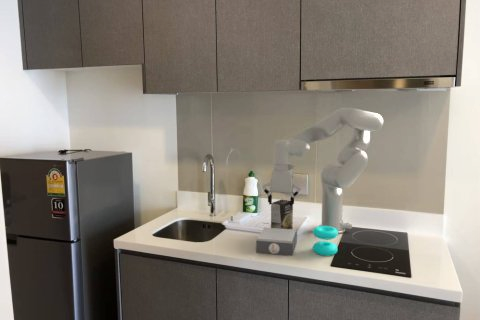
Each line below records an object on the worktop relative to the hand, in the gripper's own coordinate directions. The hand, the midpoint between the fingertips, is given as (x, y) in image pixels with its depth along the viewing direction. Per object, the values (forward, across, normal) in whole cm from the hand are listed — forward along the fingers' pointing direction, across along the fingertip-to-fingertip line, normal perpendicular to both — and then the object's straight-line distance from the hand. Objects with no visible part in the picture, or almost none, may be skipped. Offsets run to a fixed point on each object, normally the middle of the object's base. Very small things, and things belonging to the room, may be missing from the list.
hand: (280, 204), depth 180 cm
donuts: (+15, -21, +14) cm, 29 cm away
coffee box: (+15, -1, 0) cm, 15 cm away
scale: (+15, -1, +14) cm, 21 cm away
